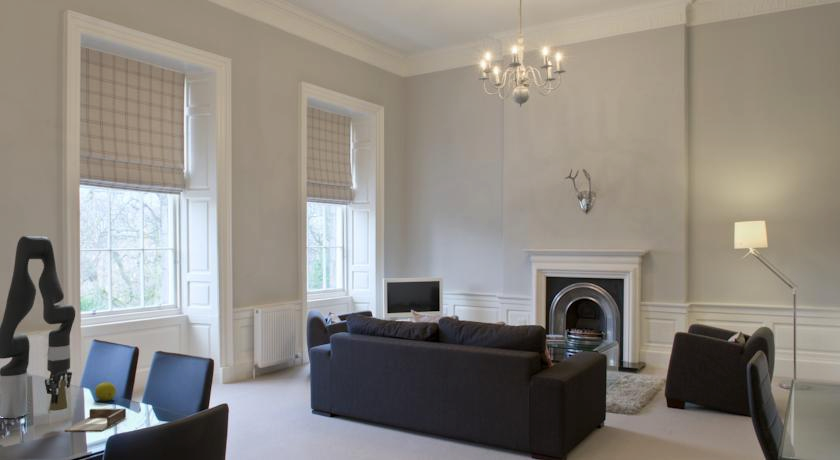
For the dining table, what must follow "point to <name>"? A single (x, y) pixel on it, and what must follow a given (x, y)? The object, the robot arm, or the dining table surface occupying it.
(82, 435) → the dining table surface
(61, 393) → the olive double-lobed piece
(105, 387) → the lemon
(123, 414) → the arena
